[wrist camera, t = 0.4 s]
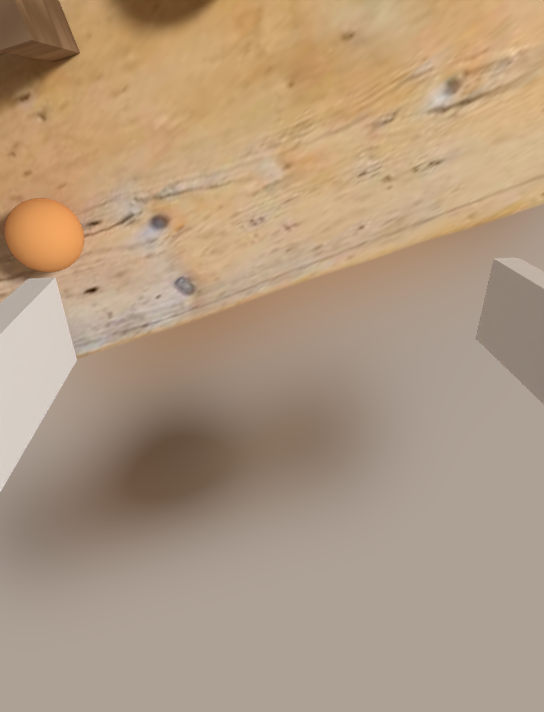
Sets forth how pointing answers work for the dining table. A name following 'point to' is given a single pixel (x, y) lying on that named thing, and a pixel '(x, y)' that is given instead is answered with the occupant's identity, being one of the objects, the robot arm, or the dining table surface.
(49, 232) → the ball
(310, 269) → the dining table surface
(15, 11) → the bridge
